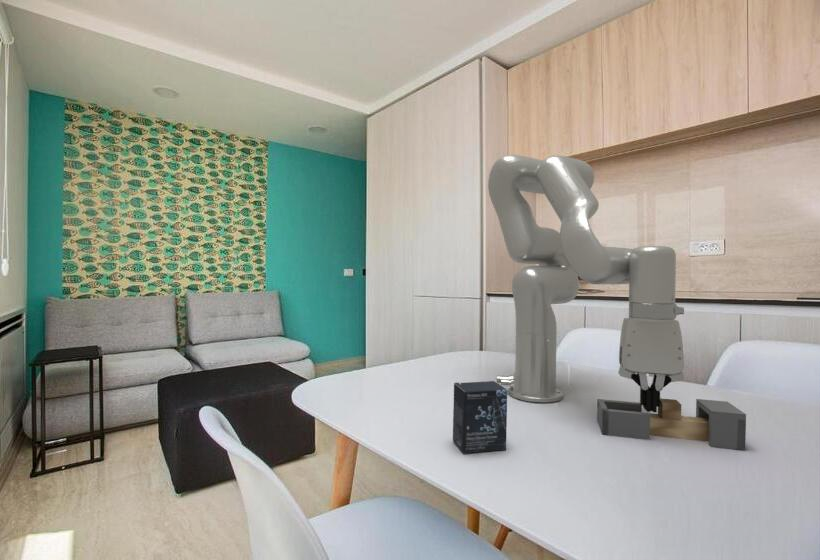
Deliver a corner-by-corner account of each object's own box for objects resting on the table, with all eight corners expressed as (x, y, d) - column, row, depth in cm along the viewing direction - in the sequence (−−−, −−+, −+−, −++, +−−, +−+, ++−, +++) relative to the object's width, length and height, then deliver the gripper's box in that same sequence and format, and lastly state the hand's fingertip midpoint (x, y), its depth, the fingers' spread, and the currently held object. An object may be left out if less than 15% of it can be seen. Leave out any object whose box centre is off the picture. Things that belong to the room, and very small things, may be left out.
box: (463, 455, 69) (464, 391, 68) (452, 441, 74) (452, 382, 74) (507, 451, 70) (508, 388, 70) (493, 437, 76) (494, 379, 76)
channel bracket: (710, 446, 73) (711, 411, 72) (695, 431, 80) (696, 398, 80) (745, 450, 71) (746, 414, 71) (726, 434, 78) (727, 401, 78)
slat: (620, 433, 79) (620, 399, 79) (617, 428, 82) (617, 394, 82) (712, 443, 75) (713, 407, 74) (706, 437, 77) (706, 402, 77)
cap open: (602, 434, 78) (602, 410, 78) (597, 420, 85) (597, 398, 85) (649, 439, 75) (650, 415, 75) (640, 425, 82) (640, 402, 82)
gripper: (690, 312, 79) (689, 407, 80) (604, 309, 84) (603, 400, 84) (705, 315, 72) (703, 421, 73) (610, 312, 77) (609, 411, 77)
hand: (649, 409), depth 78 cm, fingers closed
